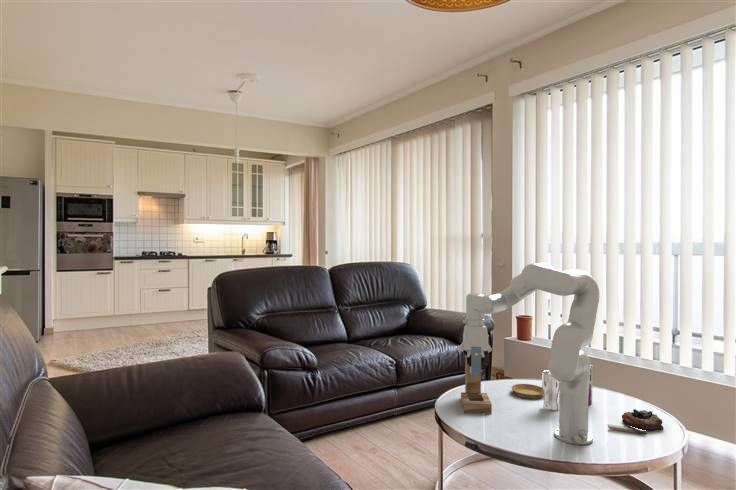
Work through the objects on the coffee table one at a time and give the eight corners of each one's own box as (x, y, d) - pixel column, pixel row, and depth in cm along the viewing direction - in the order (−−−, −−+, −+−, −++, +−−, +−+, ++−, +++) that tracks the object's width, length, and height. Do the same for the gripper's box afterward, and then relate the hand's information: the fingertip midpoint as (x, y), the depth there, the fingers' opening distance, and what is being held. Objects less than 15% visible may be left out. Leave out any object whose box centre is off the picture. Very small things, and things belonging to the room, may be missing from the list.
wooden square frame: (491, 413, 189) (491, 364, 188) (464, 412, 190) (463, 364, 189) (484, 396, 208) (484, 352, 208) (459, 396, 209) (459, 352, 209)
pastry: (667, 430, 172) (667, 414, 172) (639, 433, 169) (639, 417, 169) (644, 419, 183) (644, 404, 182) (617, 421, 180) (617, 406, 180)
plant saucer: (537, 388, 219) (537, 383, 219) (551, 400, 204) (551, 394, 204) (507, 389, 219) (507, 384, 218) (518, 400, 204) (518, 394, 204)
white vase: (556, 405, 197) (556, 370, 197) (561, 411, 190) (562, 375, 190) (539, 404, 198) (539, 370, 197) (544, 411, 191) (544, 375, 190)
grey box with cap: (481, 376, 192) (481, 347, 192) (471, 375, 192) (471, 347, 192) (479, 371, 199) (479, 343, 198) (469, 371, 199) (469, 343, 199)
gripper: (455, 324, 192) (456, 368, 193) (497, 324, 191) (497, 369, 191) (454, 320, 200) (454, 363, 200) (494, 321, 198) (494, 363, 199)
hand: (475, 365), depth 196 cm, fingers closed on grey box with cap, 4 cm apart
